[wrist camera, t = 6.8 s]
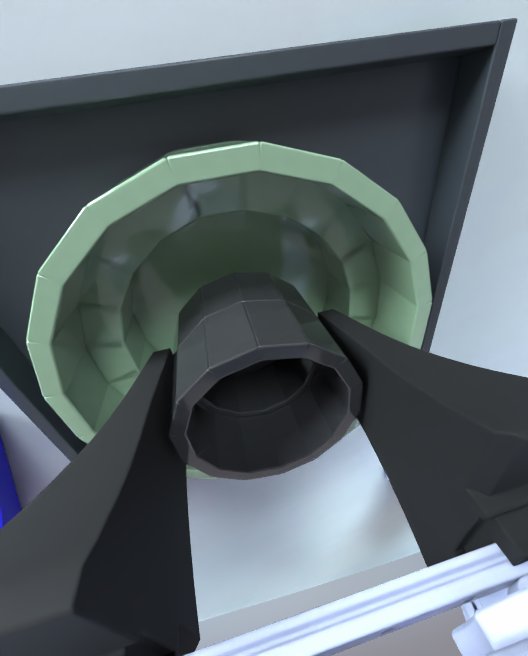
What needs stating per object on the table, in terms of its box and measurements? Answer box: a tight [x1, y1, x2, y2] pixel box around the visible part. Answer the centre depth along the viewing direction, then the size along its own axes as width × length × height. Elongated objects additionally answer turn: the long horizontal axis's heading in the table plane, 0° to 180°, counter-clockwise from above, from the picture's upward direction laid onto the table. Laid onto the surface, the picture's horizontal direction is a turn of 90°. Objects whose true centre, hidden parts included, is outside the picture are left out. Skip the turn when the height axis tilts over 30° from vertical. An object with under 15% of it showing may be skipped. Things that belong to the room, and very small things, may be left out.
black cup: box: [169, 272, 363, 480], centre depth 10 cm, size 6×6×5 cm
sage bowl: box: [26, 140, 432, 479], centre depth 12 cm, size 13×13×6 cm
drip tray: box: [0, 18, 517, 462], centre depth 14 cm, size 21×17×2 cm
